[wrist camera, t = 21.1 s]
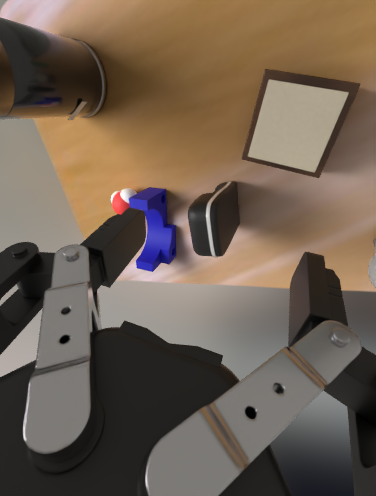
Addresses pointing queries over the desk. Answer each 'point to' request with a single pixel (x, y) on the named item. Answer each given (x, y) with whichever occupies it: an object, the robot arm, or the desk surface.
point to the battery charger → (214, 220)
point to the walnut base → (307, 81)
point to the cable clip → (155, 229)
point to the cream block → (295, 124)
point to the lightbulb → (373, 267)
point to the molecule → (122, 199)
